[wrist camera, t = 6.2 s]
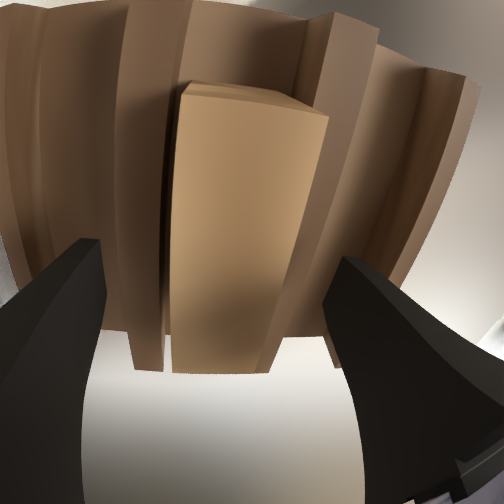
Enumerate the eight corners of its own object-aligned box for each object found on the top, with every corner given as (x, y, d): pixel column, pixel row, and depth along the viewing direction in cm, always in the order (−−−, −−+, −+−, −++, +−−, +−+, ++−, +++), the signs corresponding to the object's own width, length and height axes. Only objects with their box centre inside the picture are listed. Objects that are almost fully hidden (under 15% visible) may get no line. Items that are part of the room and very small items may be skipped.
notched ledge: (61, 317, 15) (48, 357, 13) (33, 14, 6) (-9, 10, 4) (334, 329, 19) (349, 366, 17) (435, 74, 10) (481, 86, 8)
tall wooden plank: (176, 282, 14) (172, 372, 10) (192, 80, 9) (181, 94, 5) (239, 285, 15) (253, 373, 11) (277, 90, 10) (328, 116, 6)
